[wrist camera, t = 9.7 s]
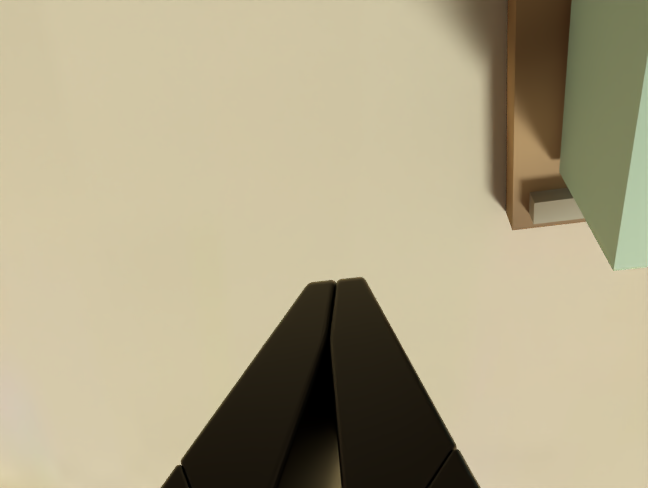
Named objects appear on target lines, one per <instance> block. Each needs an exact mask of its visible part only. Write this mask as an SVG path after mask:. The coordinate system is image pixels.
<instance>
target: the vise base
mask: <svg viewBox="0 0 648 488" xmlns="http://www.w3.org/2000/svg"><path fill="white" fill-rule="evenodd" d="M571 2H572V0H508V27H507V172H506V214H507V216H508V219H509V222H510V225H511V227H512V230H518V229H527V228H535V227H544V226H552V225H561V224H569V223H578V222H586V220H585V218H584V216H583V214H582V213H581V211H580V209H579V207H578V205H577V204H576V202H575V200H574V198H573V196H572V194H571V193H570V191H569V189H568V187H567V185H566V183H565V182H564V180H563V178H562V176H561V174H560V173H559V168H560V154H561V140H562V126H563V112H564V99H565V85H566V71H567V57H568V43H569V29H570V15H571Z"/></svg>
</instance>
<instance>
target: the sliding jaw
mask: <svg viewBox="0 0 648 488" xmlns="http://www.w3.org/2000/svg"><path fill="white" fill-rule="evenodd" d="M559 173H560V174H561V176H562V178H563V180H564V182H565V183H566V185H567V187H568V189H569V191H570V193H571V194H572V196H573V198H574V200H575V202H576V204H577V205H578V207H579V209H580V211H581V213H582V214H583V216H584V218H585V220H586V222H587V224H588V225H589V227H590V229H591V231H592V233H593V235H594V236H595V238H596V240H597V242H598V244H599V245H600V247H601V249H602V251H603V253H604V255H605V256H606V258H607V260H608V262H609V264H610V266H611V267H612V269H613V271H617V270H626V269H636V268H645V267H648V0H572V2H571V15H570V29H569V43H568V57H567V71H566V85H565V99H564V112H563V126H562V140H561V154H560V168H559Z"/></svg>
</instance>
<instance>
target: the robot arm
mask: <svg viewBox="0 0 648 488" xmlns="http://www.w3.org/2000/svg"><path fill="white" fill-rule="evenodd" d="M181 464H182V465H177V466H176V467H175V469H174V470H173V471H172V473H171V474H170V476H169V477H168V478H167V480H166V481H165V483H164V484H163V485H162V487H161V488H480V486H479V484H478V482H477V481H476V479H475V477H474V476H473V474H472V472H471V470H470V469H469V467H468V465H467V463H466V461H465V460H464V458H463V456H462V454H461V452H460V451H459V450H458V449H457V448H456V444H455V442H454V440H453V438H452V437H451V435H450V433H449V431H448V429H447V427H446V426H445V424H444V422H443V420H442V418H441V417H440V415H439V413H438V411H437V409H436V407H435V406H434V404H433V402H432V400H431V398H430V397H429V395H428V393H427V391H426V389H425V387H424V386H423V384H422V382H421V380H420V378H419V377H418V375H417V373H416V371H415V369H414V367H413V366H412V364H411V362H410V360H409V358H408V357H407V355H406V353H405V351H404V349H403V347H402V346H401V344H400V342H399V340H398V338H397V337H396V335H395V333H394V331H393V329H392V327H391V326H390V324H389V322H388V320H387V318H386V317H385V315H384V313H383V311H382V309H381V307H380V306H379V304H378V302H377V300H376V298H375V297H374V295H373V293H372V291H371V289H370V287H369V286H368V284H367V282H366V280H365V279H364V278H362V277H356V278H347V279H340V280H338V281H337V283H336V282H335V281H333V280H328V281H319V282H311V283H309V284H308V285H307V286H306V287H305V288H304V290H303V291H302V293H301V294H300V295H299V297H298V298H297V300H296V301H295V302H294V304H293V305H292V307H291V308H290V309H289V311H288V312H287V313H286V315H285V316H284V318H283V319H282V320H281V322H280V323H279V325H278V326H277V327H276V329H275V330H274V332H273V333H272V334H271V336H270V337H269V338H268V340H267V341H266V343H265V344H264V345H263V347H262V348H261V350H260V351H259V352H258V354H257V355H256V357H255V358H254V359H253V361H252V362H251V363H250V365H249V366H248V368H247V369H246V370H245V372H244V373H243V375H242V376H241V377H240V379H239V380H238V382H237V383H236V384H235V386H234V387H233V388H232V390H231V391H230V393H229V394H228V395H227V397H226V398H225V400H224V401H223V402H222V404H221V405H220V407H219V408H218V409H217V411H216V412H215V414H214V415H213V416H212V418H211V419H210V420H209V422H208V423H207V425H206V426H205V427H204V429H203V430H202V432H201V433H200V434H199V436H198V437H197V439H196V440H195V441H194V443H193V444H192V445H191V447H190V448H189V450H188V451H187V452H186V454H185V455H184V457H183V458H182V459H181Z"/></svg>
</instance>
